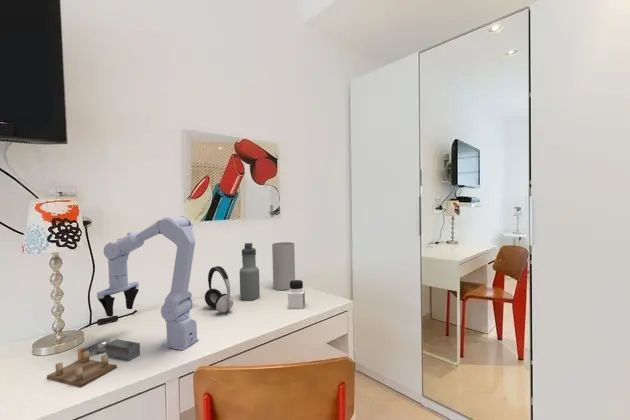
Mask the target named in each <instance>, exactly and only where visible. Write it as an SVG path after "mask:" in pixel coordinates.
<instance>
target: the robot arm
mask: <svg viewBox="0 0 630 420" xmlns="http://www.w3.org/2000/svg"><path fill="white" fill-rule="evenodd" d="M193 227H194V224H193V222H192V221H191V220H190V219H189V217H186V216H185V215H184V216H175V217H163V218H161V219H160V220H157V221H156V222H154V223H153V224H151V225H150V226H148V227H146V228H145V229H143V230H141V231H139V232H137V231H130V232H127V233H126V235H125V236H124V237H120V238H117V239H116V240H117V241H115V242H112V241H111V242H107V244H105V245H104V247H103V255H104V256H105V258H106V259H107V261H108V262H107V264H108V266H107V267H108V284H109V285H108V288H106V289H103V290H101V291H98V292H96V298H97V300H98V301H99V302H100V304H101V305H102V307H103V309H104V312H105V315H106V317H109V318H111V317H113V316H114V302H115V297H112V295H116V294H119V293H122V292H123V294H124V298H125V306H126V310H132V309H133V306H134V303H135V299H136V297H137V294H138V293H139V287H140V286H139V285H140V284H139V283H140V282H139V281H135V282H134V281H133V282H129V275H128V273H129V272H128V260H129V255H130V254H131V252H134V251H135V250H137V249H139V248H141V247H143V245H144V243H145V241H147V240H149V239H151V238H153V237H156V236H157V235H162V236H164V237H165V238H166V239H168V240H170V241H171V242H172V243H173V244H175V245H176V252H175V259H174V267H173V271H172V274H173V275H172V280H171V288H170V292H168V294H167V295H166V297H165V299H164V302H163V305H162V306H161V308H160V314H161V317H162V319H164V322H165V323H166V327H165V328H166V341H165V342H164V343H161V344H160V346H161V347H165V348H170V349H175V350H181V351H183V350H185V349H187V348H189V347H190V346H191V345H193V344H195V343H196V342H198V341H199V338H198V328H197V327H198V326H197V320H195V319H193V318H191V317H190V311H191V310H192V308H193V306H194V304H193V303H194V302H193V300H192V294H193V293H192V292H191V291H189V285H190V279H191V274H192V273H191V272H192V267H193V265H192V264H193V259H194V253H195V246H196V239H195V236H194V232H193V231H194V230H193Z"/></svg>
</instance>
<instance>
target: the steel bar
mask: <svg viewBox="0 0 630 420" xmlns="http://www.w3.org/2000/svg"><path fill="white" fill-rule="evenodd" d="M140 346H141V344H140V342H134V341H129V340H124V339H118V338H117V339H114V340H112V341H110V343H107V344H106V352H105V355H108V358H112V359H118V360H121V361H122V360H123V361H127V362H130V361H133V360H134V359H136V358H138V357H140V356H141V347H140Z"/></svg>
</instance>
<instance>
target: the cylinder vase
mask: <svg viewBox="0 0 630 420" xmlns="http://www.w3.org/2000/svg"><path fill="white" fill-rule="evenodd" d="M271 244H272V245H271V248H272V249H271V254H272V282H273V283H272V286H273V289H274V290H277V291H289V290H290V281H292V280H296V264H295V263H296V258H295V255H296V254H295V243H294V242H289V241H288V242H287V241H285V242H273V243H271Z"/></svg>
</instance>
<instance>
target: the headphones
mask: <svg viewBox="0 0 630 420" xmlns="http://www.w3.org/2000/svg"><path fill="white" fill-rule="evenodd" d="M215 272H217V273H219V274H220V276H221V278H222V279H223V282H224V284H225V287H226V292H227V293H222V292H221V291H220V290H218V289H217V288H212V281H213V280H212V279H213V276H214V273H215ZM207 282H208V290H206V292H205V293H204V302H205V304H206V306H208V307H209V308H211V309H215V310H216V311H217V312H218V313H226V312H229V311H230V310H231V309H232V308H233V306H234V301H233V297H232V296H231V283H230V279H229V276H228V273H227V271H226V270H225V269H224V267H222V266H220V265H219V266H218V265H217V266H212V267H211V268H210V269H209V271H208V274H207Z"/></svg>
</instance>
